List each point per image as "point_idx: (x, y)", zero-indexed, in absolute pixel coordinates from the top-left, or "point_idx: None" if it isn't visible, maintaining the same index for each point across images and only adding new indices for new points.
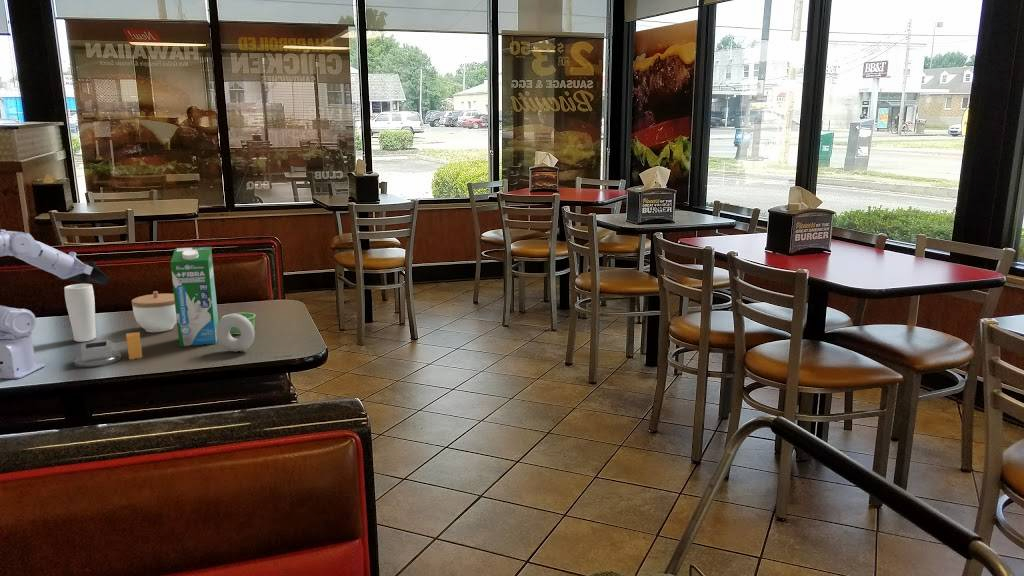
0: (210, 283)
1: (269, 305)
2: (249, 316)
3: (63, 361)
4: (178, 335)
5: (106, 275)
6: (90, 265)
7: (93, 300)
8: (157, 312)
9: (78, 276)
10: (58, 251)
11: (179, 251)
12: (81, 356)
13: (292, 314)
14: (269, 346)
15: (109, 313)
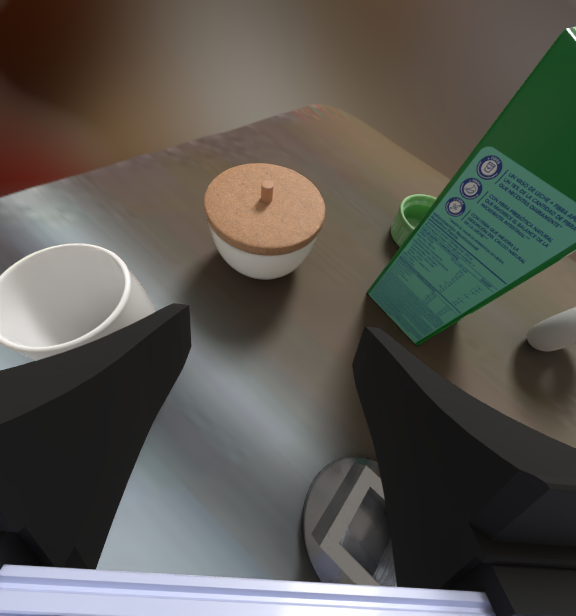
0: None
1: (324, 125)
2: (425, 203)
3: (263, 573)
4: (431, 336)
5: (392, 338)
6: None
7: (152, 305)
8: (304, 253)
9: (156, 378)
10: None
11: None
12: (319, 548)
13: (401, 156)
14: (547, 299)
15: (49, 187)
